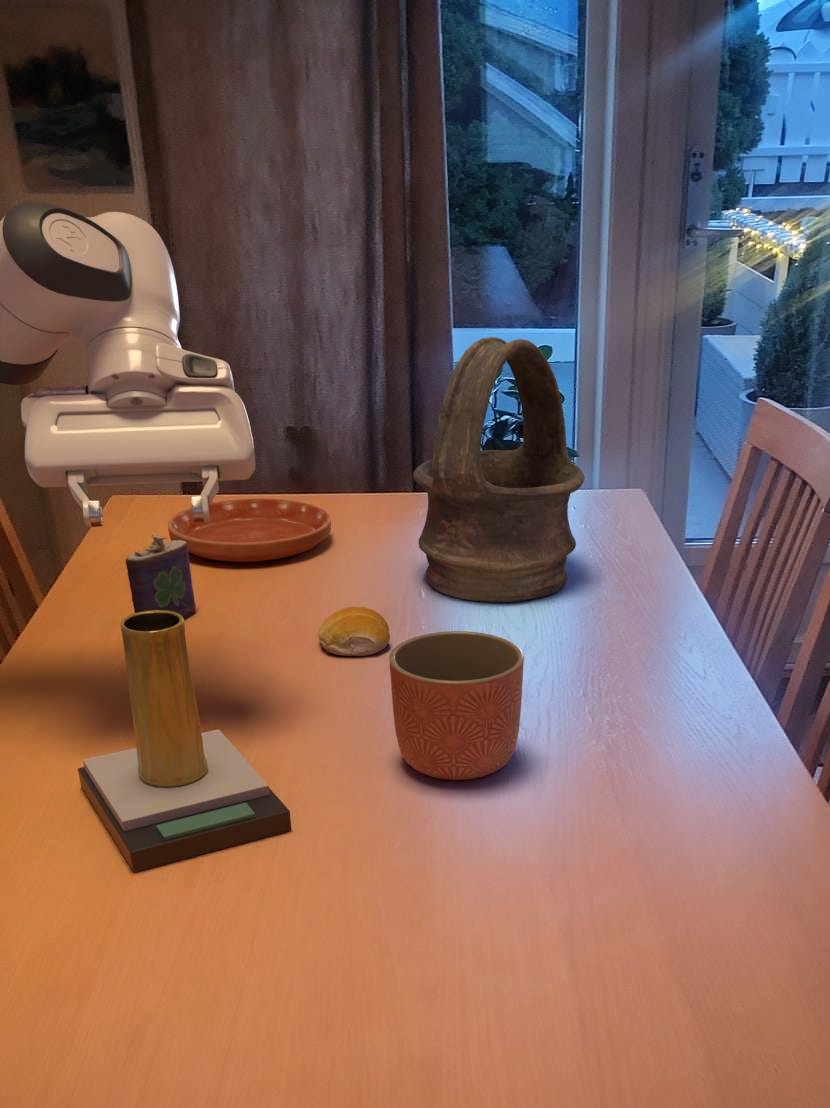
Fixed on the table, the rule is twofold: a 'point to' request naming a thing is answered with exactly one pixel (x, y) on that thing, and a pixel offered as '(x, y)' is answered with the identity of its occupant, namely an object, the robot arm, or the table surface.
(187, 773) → the vase
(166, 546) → the flask
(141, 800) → the scale
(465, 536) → the clay pot
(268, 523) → the saucer
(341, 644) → the bread roll
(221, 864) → the table surface
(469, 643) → the planter
